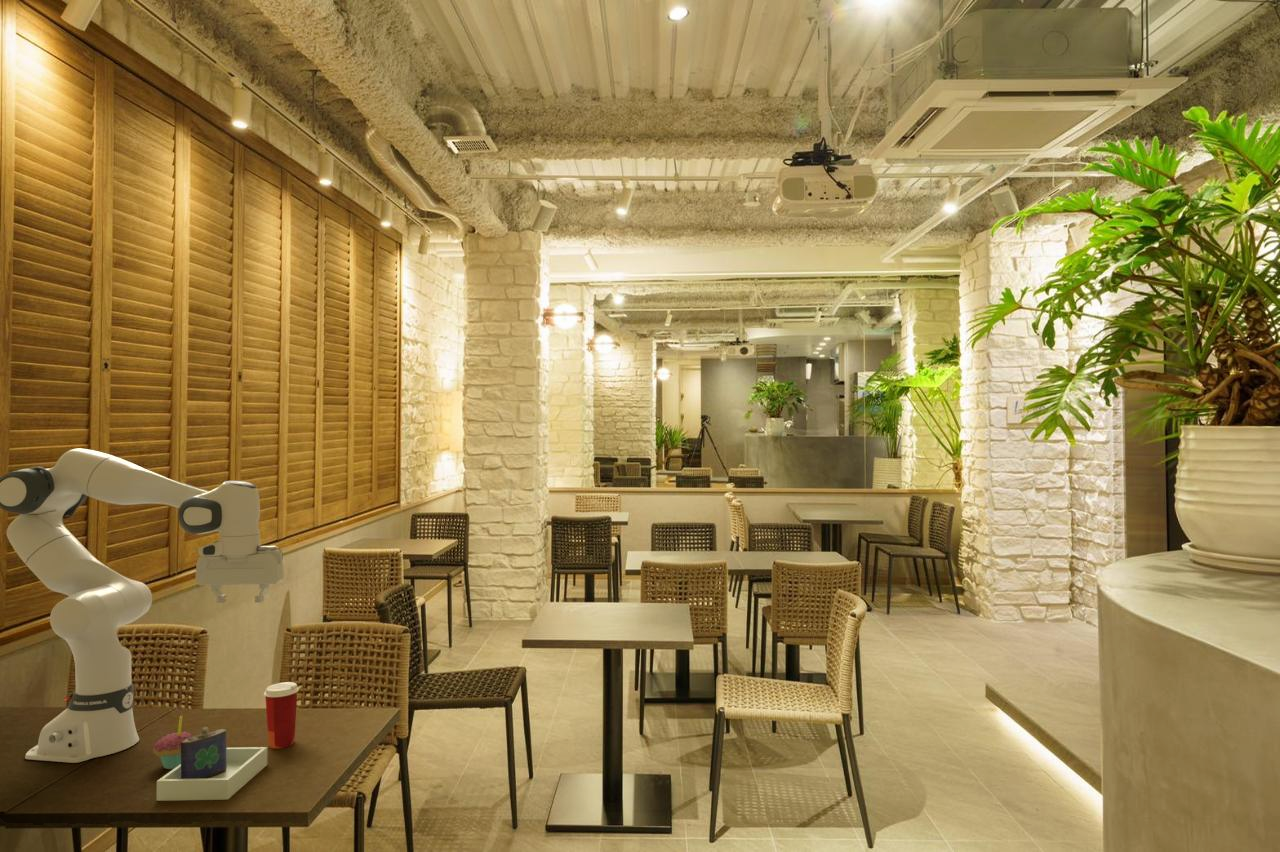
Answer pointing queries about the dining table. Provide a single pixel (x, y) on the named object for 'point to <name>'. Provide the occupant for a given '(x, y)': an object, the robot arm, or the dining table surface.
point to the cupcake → (171, 747)
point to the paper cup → (281, 714)
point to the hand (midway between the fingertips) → (240, 602)
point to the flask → (204, 755)
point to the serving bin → (215, 777)
